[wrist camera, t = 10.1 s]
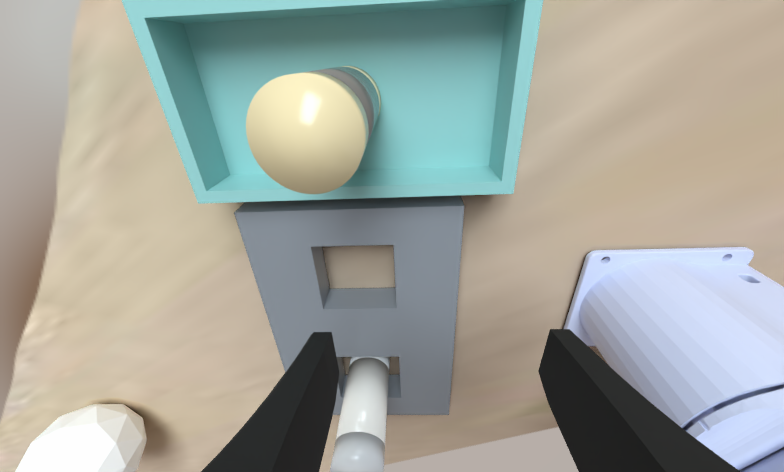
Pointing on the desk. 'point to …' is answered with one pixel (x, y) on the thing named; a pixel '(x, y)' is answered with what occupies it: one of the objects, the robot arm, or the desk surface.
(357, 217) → the fuse block
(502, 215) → the desk surface
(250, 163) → the tray
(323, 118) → the led light bulb
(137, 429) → the geometric ball
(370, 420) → the fuse
